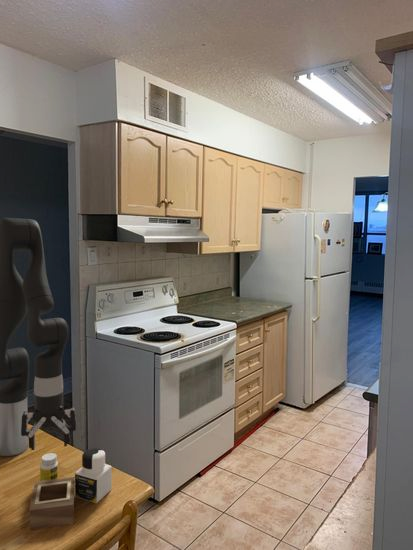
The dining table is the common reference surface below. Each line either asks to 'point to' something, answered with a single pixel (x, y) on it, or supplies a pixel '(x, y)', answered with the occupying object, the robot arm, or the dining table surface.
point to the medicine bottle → (93, 476)
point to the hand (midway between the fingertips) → (49, 446)
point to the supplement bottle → (49, 467)
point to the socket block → (52, 503)
